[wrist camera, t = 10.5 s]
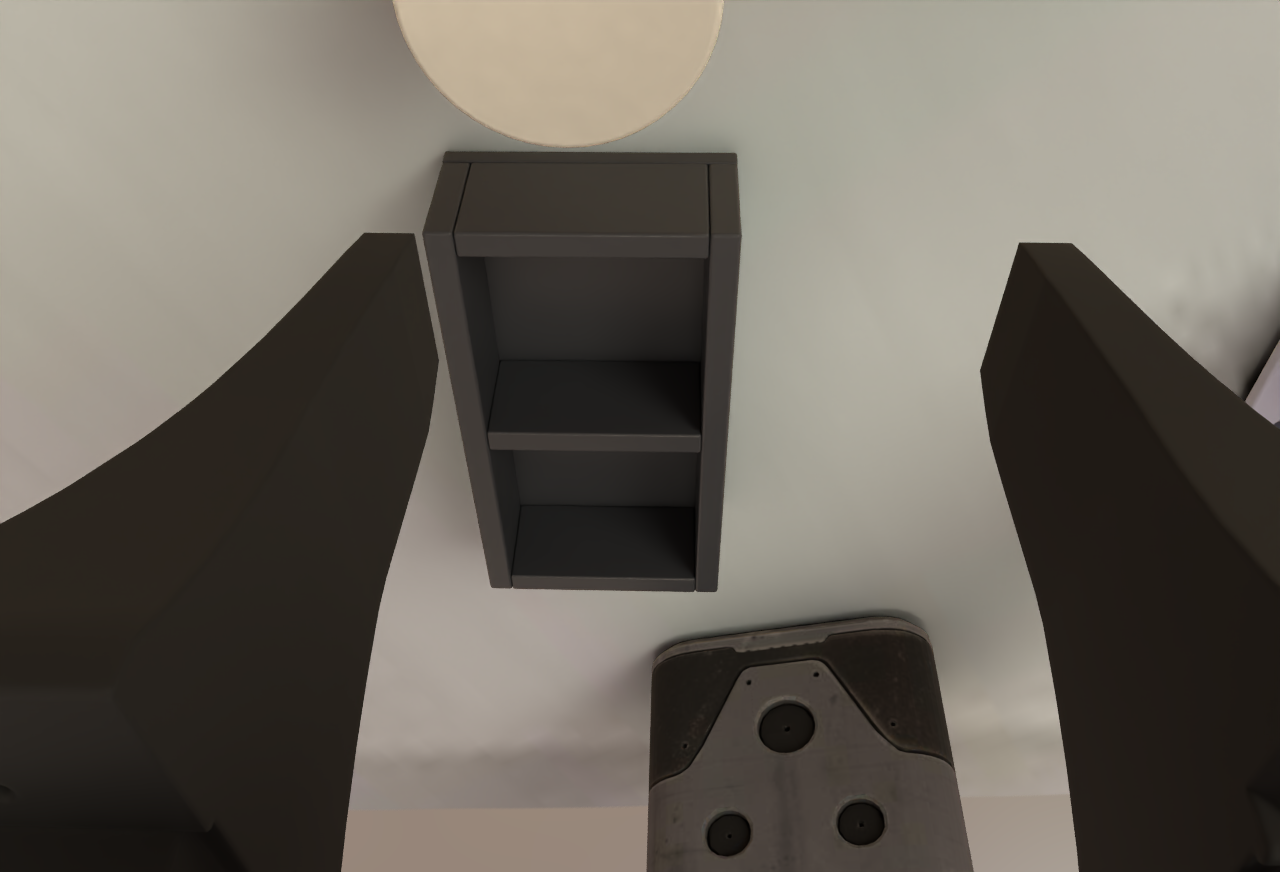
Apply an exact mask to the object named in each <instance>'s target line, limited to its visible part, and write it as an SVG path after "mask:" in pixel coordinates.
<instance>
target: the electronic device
mask: <svg viewBox="0 0 1280 872" xmlns="http://www.w3.org/2000/svg"><path fill="white" fill-rule="evenodd" d="M647 872H974V871H973V865H972V860H971V854H970V849H969V844H968V838H967V833H966V827H965V822H964V817H963V811H962V806H961V800H960V795H959V790H958V784H957V779H956V774H955V768H954V762H953V757H952V752H951V746H950V741H949V735H948V730H947V725H946V719H945V714H944V708H943V703H942V698H941V692H940V687H939V681H938V676H937V671H936V665H935V660H934V655H933V649H932V645H931V642H930V639H929V637H928V635H927V634H926V633H925V632H924V631H923V630H922V629H921V628H919V627H917V626H915V625H913V624H911V623H909V622H907V621H904V620H902V619H899V618H893V617H868V618H860V619H852V620H844V621H836V622H829V623H821V624H813V625H805V626H797V627H790V628H782V629H774V630H766V631H758V632H751V633H743V634H735V635H727V636H719V637H712V638H704V639H696V640H690V641H686V642H682V643H679V644H677V645H674V646H672V647H671V648H669V649H668V650H666V651H664V652H663V653H662V654H660V655H659V656H658V657H657V658H656V660H655V661H654V663H653V667H652V689H651V727H650V766H649V804H648V840H647Z"/></svg>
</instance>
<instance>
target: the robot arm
mask: <svg viewBox="0 0 1280 872" xmlns="http://www.w3.org/2000/svg"><path fill="white" fill-rule="evenodd" d="M438 363H439V359H438V354H437V349H436V344H435V338H434V333H433V328H432V323H431V318H430V313H429V307H428V302H427V297H426V292H425V287H424V282H423V276H422V271H421V266H420V261H419V256H418V251H417V245H416V240H415V235H414V234H411V233H364V234H363V235H362V236H361V237H360V238H359V239H358V240H357V241H356V242H355V243H354V244H353V245H352V246H351V247H350V248H349V249H348V250H347V251H346V252H345V253H344V254H343V255H342V256H341V257H340V258H339V259H338V260H337V261H336V263H335V264H334V265H333V266H332V267H331V268H330V269H329V270H328V271H327V272H326V273H325V274H324V275H323V277H322V278H321V279H320V280H319V281H318V282H317V283H316V284H315V285H314V286H313V287H312V288H311V289H310V290H309V291H308V293H307V294H306V295H305V296H304V297H303V298H302V299H301V300H300V301H299V302H298V303H297V304H296V305H295V306H294V307H293V308H292V309H291V310H290V311H289V312H288V313H287V314H286V315H285V316H284V317H283V318H282V319H281V320H280V321H279V322H278V323H277V324H276V325H275V326H274V327H273V328H272V329H271V330H270V331H269V332H268V333H267V335H266V336H265V337H264V338H263V339H261V340H260V341H259V342H258V343H257V344H256V345H255V346H254V347H253V348H252V349H251V350H250V351H248V352H247V353H246V354H245V355H244V356H243V357H242V358H241V359H240V360H239V361H238V362H236V363H235V364H234V365H233V366H232V367H231V368H230V369H229V370H228V371H227V372H225V373H224V374H223V375H222V376H221V377H220V378H219V379H218V380H217V381H216V382H215V383H213V384H212V385H211V386H210V387H209V388H207V389H206V390H205V391H204V392H203V393H201V394H200V395H199V396H198V397H196V398H195V399H194V400H193V401H191V402H190V403H189V404H188V405H186V406H185V407H184V408H183V409H181V410H180V411H179V412H177V413H176V414H175V415H173V416H172V417H171V418H169V419H168V420H167V421H165V422H164V423H163V424H161V425H160V426H159V427H157V428H156V429H155V430H153V431H152V432H151V433H149V434H148V435H146V436H145V437H144V438H142V439H141V440H139V441H138V442H136V443H135V444H134V445H132V446H130V447H129V448H127V449H126V450H124V451H123V452H121V453H120V454H118V455H116V456H115V457H113V458H112V459H110V460H109V461H107V462H106V463H104V464H102V465H101V466H99V467H98V468H96V469H95V470H93V471H92V472H90V473H88V474H87V475H85V476H84V477H82V478H81V479H79V480H78V481H76V482H74V483H73V484H71V485H70V486H68V487H66V488H65V489H63V490H61V491H59V492H58V493H56V494H54V495H52V496H51V497H49V498H47V499H45V500H44V501H42V502H40V503H38V504H36V505H35V506H33V507H31V508H29V509H28V510H26V511H24V512H22V513H20V514H18V515H16V516H14V517H13V518H11V519H9V520H7V521H5V522H3V523H1V524H0V872H341V867H342V857H343V849H344V839H345V830H346V822H347V814H348V807H349V799H350V792H351V784H352V777H353V769H354V762H355V754H356V746H357V740H358V733H359V727H360V720H361V714H362V707H363V701H364V694H365V688H366V681H367V675H368V669H369V663H370V657H371V652H372V646H373V640H374V634H375V628H376V623H377V617H378V611H379V606H380V602H381V598H382V594H383V590H384V585H385V581H386V577H387V574H388V570H389V567H390V563H391V560H392V556H393V553H394V550H395V546H396V543H397V539H398V536H399V533H400V529H401V526H402V522H403V519H404V515H405V512H406V509H407V505H408V502H409V498H410V495H411V491H412V488H413V485H414V481H415V478H416V474H417V471H418V467H419V464H420V460H421V457H422V453H423V450H424V446H425V442H426V439H427V435H428V431H429V426H430V419H431V413H432V407H433V400H434V393H435V385H436V378H437V371H438ZM980 373H981V381H982V389H983V396H984V404H985V412H986V418H987V424H988V430H989V437H990V442H991V446H992V450H993V453H994V457H995V460H996V464H997V467H998V471H999V474H1000V477H1001V481H1002V484H1003V488H1004V491H1005V494H1006V498H1007V501H1008V504H1009V508H1010V511H1011V514H1012V518H1013V521H1014V524H1015V528H1016V531H1017V534H1018V537H1019V541H1020V544H1021V547H1022V551H1023V554H1024V557H1025V561H1026V564H1027V567H1028V571H1029V574H1030V577H1031V580H1032V584H1033V587H1034V590H1035V594H1036V598H1037V602H1038V606H1039V610H1040V614H1041V618H1042V622H1043V627H1044V632H1045V638H1046V643H1047V649H1048V655H1049V660H1050V666H1051V672H1052V677H1053V683H1054V689H1055V694H1056V701H1057V707H1058V714H1059V720H1060V727H1061V734H1062V740H1063V747H1064V753H1065V760H1066V766H1067V774H1068V782H1069V790H1070V798H1071V806H1072V814H1073V822H1074V830H1075V837H1076V846H1077V856H1078V866H1079V872H1280V340H1279V342H1278V343H1277V345H1276V347H1275V349H1274V351H1273V352H1272V354H1271V356H1270V358H1269V360H1268V361H1267V363H1266V365H1265V367H1264V368H1263V370H1262V372H1261V374H1260V376H1259V377H1258V379H1257V381H1256V383H1255V384H1254V386H1253V388H1252V390H1251V392H1250V393H1249V395H1248V397H1247V399H1246V401H1245V402H1244V401H1243V400H1242V399H1241V398H1239V397H1238V396H1237V395H1236V394H1235V393H1233V392H1232V391H1231V390H1230V389H1228V388H1227V387H1226V386H1225V385H1224V384H1222V383H1221V382H1220V381H1219V380H1217V379H1216V378H1215V377H1214V376H1213V375H1212V374H1210V373H1209V372H1208V371H1207V370H1206V369H1205V368H1204V367H1202V366H1201V365H1200V364H1199V363H1198V362H1197V361H1196V360H1194V359H1193V358H1192V357H1191V356H1190V355H1189V354H1188V353H1187V352H1186V351H1184V350H1183V349H1182V348H1181V347H1180V346H1179V345H1178V344H1177V343H1176V342H1175V341H1174V340H1172V339H1171V338H1170V337H1169V336H1168V335H1167V334H1166V333H1165V332H1164V331H1163V330H1162V329H1161V328H1160V327H1159V326H1158V325H1156V324H1155V323H1154V322H1153V321H1152V320H1151V319H1150V318H1149V317H1148V316H1147V315H1146V314H1145V313H1144V312H1143V311H1142V310H1141V309H1140V308H1139V307H1138V306H1137V305H1136V304H1135V303H1134V302H1133V301H1132V300H1131V299H1130V298H1129V297H1127V296H1126V295H1125V294H1124V293H1123V292H1122V291H1121V290H1120V289H1119V288H1118V287H1117V286H1116V285H1115V284H1114V283H1113V282H1112V281H1111V280H1110V279H1109V278H1108V277H1107V276H1106V275H1105V274H1104V273H1103V272H1102V271H1101V270H1100V269H1099V268H1098V267H1097V266H1096V265H1095V264H1094V263H1093V262H1092V261H1091V260H1089V259H1088V258H1087V257H1086V256H1085V255H1084V254H1083V253H1082V252H1081V251H1080V250H1079V249H1077V248H1076V247H1075V246H1074V245H1073V244H1072V243H1019V245H1018V248H1017V252H1016V255H1015V258H1014V262H1013V265H1012V268H1011V271H1010V275H1009V278H1008V281H1007V284H1006V288H1005V291H1004V294H1003V297H1002V301H1001V304H1000V307H999V311H998V314H997V317H996V320H995V324H994V327H993V330H992V333H991V337H990V340H989V343H988V347H987V350H986V353H985V356H984V360H983V363H982V366H981V369H980ZM1278 421H1279V422H1278Z"/></svg>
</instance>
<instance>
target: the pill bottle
mask: <svg viewBox="0 0 1280 872" xmlns="http://www.w3.org/2000/svg"><path fill="white" fill-rule="evenodd" d="M392 1H393V5H394V9H395V13H396V17H397V21H398V24H399V26H400V29H401V31H402V34H403V36H404V39H405V41H406V43H407V45H408V47H409V49H410V51H411V53H412V54H413V56H414V58H415V60H416V62H417V63H418V65H419V66H420V67H421V69H422V70H423V72H424V73H425V75H426V76H427V78H428V79H429V80H430V81H431V82H432V83H433V85H434V86H435V87H436V88H437V89H438V90H439V91H440V93H441V94H442V95H443V96H445V97H446V98H447V99H448V100H449V101H450V102H451V103H452V104H453V105H454V106H456V107H457V108H458V109H459V110H461V111H462V112H463V113H465V114H466V115H468V116H469V117H470V118H472V119H473V120H475V121H477V122H478V123H480V124H482V125H484V126H485V127H487V128H489V129H491V130H493V131H495V132H498V133H500V134H502V135H505V136H507V137H510V138H513V139H516V140H520V141H523V142H526V143H530V144H536V145H541V146H547V147H562V148H573V147H588V146H594V145H600V144H605V143H608V142H612V141H615V140H618V139H622V138H625V137H627V136H629V135H631V134H634V133H636V132H638V131H640V130H642V129H644V128H645V127H647V126H649V125H650V124H652V123H654V122H655V121H657V120H658V119H660V118H661V117H662V116H663V115H665V114H666V113H667V112H669V111H670V110H671V109H672V108H674V107H675V106H676V105H677V104H678V102H679V101H680V100H681V99H682V98H683V97H684V96H685V95H686V94H687V93H688V92H689V91H690V89H691V88H692V87H693V85H694V84H695V83H696V81H697V80H698V79H699V77H700V75H701V74H702V72H703V70H704V68H705V66H706V65H707V63H708V61H709V59H710V56H711V54H712V51H713V49H714V46H715V44H716V41H717V38H718V34H719V30H720V26H721V22H722V14H723V5H724V0H392Z"/></svg>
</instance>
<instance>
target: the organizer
mask: <svg viewBox="0 0 1280 872" xmlns="http://www.w3.org/2000/svg"><path fill="white" fill-rule="evenodd" d="M422 235H423V240H424V245H425V250H426V256H427V261H428V266H429V271H430V276H431V281H432V286H433V292H434V297H435V302H436V307H437V312H438V317H439V322H440V328H441V333H442V338H443V343H444V348H445V353H446V358H447V363H448V369H449V374H450V379H451V384H452V389H453V394H454V399H455V405H456V410H457V415H458V420H459V425H460V430H461V435H462V441H463V446H464V451H465V456H466V461H467V466H468V471H469V477H470V482H471V487H472V492H473V497H474V502H475V507H476V513H477V518H478V523H479V528H480V533H481V538H482V543H483V549H484V554H485V559H486V564H487V569H488V574H489V579H490V584H491V587H492V588H512V586H513V588H514V589H561V590H616V591H672V592H694V590H696V591H697V592H716V591H717V586H718V572H719V557H720V543H721V528H722V514H723V499H724V485H725V470H726V455H727V441H728V426H729V412H730V397H731V383H732V368H733V354H734V339H735V324H736V310H737V295H738V281H739V266H740V252H741V237H742V235H741V218H740V201H739V184H738V168H737V155H736V153H615V152H445V155H444V159H443V164H442V167H441V171H440V174H439V177H438V181H437V184H436V188H435V191H434V195H433V198H432V201H431V205H430V208H429V212H428V215H427V219H426V222H425V226H424V229H423V232H422Z"/></svg>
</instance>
